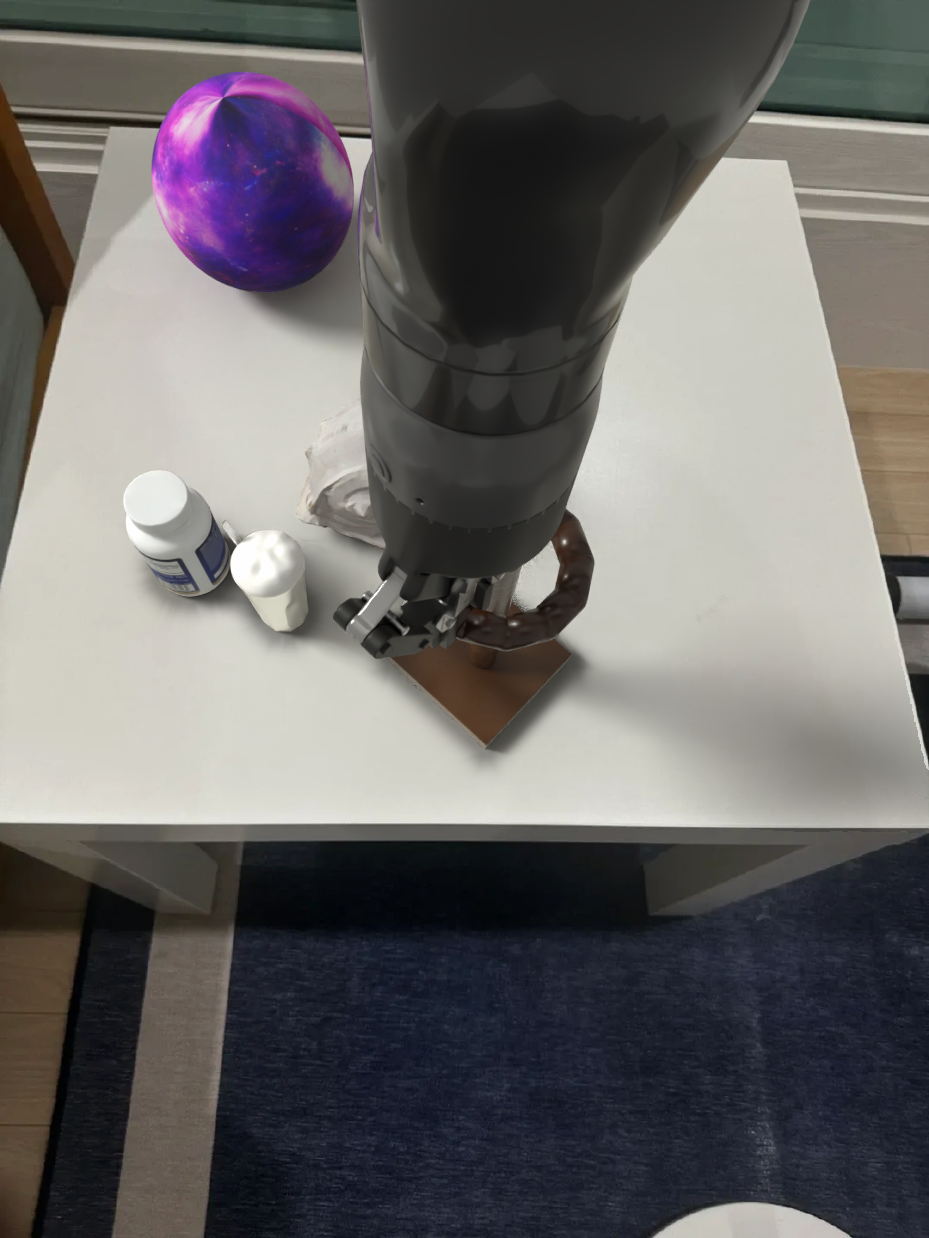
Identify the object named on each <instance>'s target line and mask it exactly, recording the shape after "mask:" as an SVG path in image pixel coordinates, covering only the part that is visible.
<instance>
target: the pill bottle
mask: <svg viewBox="0 0 929 1238" xmlns="http://www.w3.org/2000/svg"><path fill="white" fill-rule="evenodd" d="M122 499H123V500H122V502H123V503H122V504H123V508H124V511H125V513H126V518H125V528H126V533H127V535H128V537H129V539H130V541H131V543H132V545H133V546H134V548H135V549H136V550H137V551H138V553H139V554H140V556H141V557H142V558H143V559H144V561H145V563H146V564H147V566H148V567H149V569H150V570H151V571H152V573H153V575H154V576H155V577H156V579H157V581H158V582H159V583H160V584H161V586H163V588H165V589H166V590H168V591H169V592H171V593H173V594H175V595H177V596H182V597H197V596H202V595H204V594H208V593H210V592H212V591H213V590H214V589H216V588H218V586H219V585H220V584H221V583H222V582H223V581H224V579H226V577H227V575H228V573H229V570H230V568H231V566H230V563H231V552H230V550H229V546H228V544H227V542H226V540H225V537H224V536H223V533H222V532H221V529H220V526H219V525H218V523H217V521H216V519H215V516H214V514H213V511H212V510H211V508H210V506H209V504H208V503H207V500H206V499H205V497H203V495H202V494H201V493H200V492H199V491H198V490H196V489H194V488H193V487H191V486H189V485H187V484H186V482H185V481H184V480H183V479H182V478H181V476H179V475H178V474H175V473H174V472H171V471H168V470H160V469H156V470H149V471H146V472H144V473H142V474H140V475H138V476H136V477H135V478H133V480H132V481H130V483H129V484H128V485H127V487H126V489H125V490H124V494H123V498H122Z"/></svg>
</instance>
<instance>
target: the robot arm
mask: <svg viewBox="0 0 929 1238" xmlns="http://www.w3.org/2000/svg"><path fill="white" fill-rule="evenodd" d="M810 2H811V0H355V3H356V11H357V12H356V13H357V20H358V28H359V35H360V44H361V53H362V60H363V70H364V77H365V85H366V86H365V87H366V96H367V106H368V115H369V127H370V140H371V141H370V142H371V153H370V156H369V157H368V161H367V164H366V166H365V168H364V172H363V177H362V183H361V189H360V194H359V202H358V210H357V263H358V270H359V271H358V272H359V286H360V296H361V297H360V298H361V299H360V300H361V312H362V328H363V348H362V354H361V363H360V375H359V389H360V390H359V392H360V394H359V395H360V399H361V407H362V418H363V430H364V442H365V452H366V463H367V474H368V484H369V495H370V502H371V507H372V511H373V514H374V517H375V520H376V523H377V525H378V528H379V530H380V532H381V535H382V537H383V539H384V542H385V544H386V545H385V549H383V551H382V554H381V556H380V558H379V560H378V565H377V573H378V577H379V579H380V580H381V581H382V582H381V583H380V584H379V585H378V587H377V588H376V589H375V591H374V592H372V591H371V590H366V591H365V592H363V594H362V595H361V597H350V598H348V599H345V600H344V601H343V602H341V603H339V605H338V606H337V608H336V609H335V611H334V613H333V615H332V621H333V622H335V624H337V625H338V626H339V627H340V628H341V629H342V630H343V631H344V632H345V633H346V634H347V635H348V636H350V637H351V638H352V639H353V640H354V641H355V642H356V643H357V644H359V646H360V647H362V649H364V651H366V652H367V653H368V654H369V655H370V656H371V657H372V658H373V659H375V660H379V659H381V660H382V659H387V658H388V659H389V658H390V657H397V656H404V655H412V654H417V653H419V652H420V651H422V650H425V649H426V648H427V647H428V646H430V647H431V648H433V649H435V648H436V647H437V646H438V645H440V646H442V647H443V648H445V649H447V648H448V647H449V646H450V645H451V644H452V643H453V642H454V641H455V640H456V635H457V630H458V623H459V613H460V612H461V611H463V610H464V609H465V608H466V607H467V606H468V605H469V604H471V605H472V606H473V607H474V608H477V609H481V610H486V609H487V608H488V607H489V605H490V600H491V595H492V591H493V588H494V583H495V582H497V581H498V580H501V579H502V578H503V576H504V575H505V573H507V572H509V571H512V570H514V569H516V568H518V567H520V566H522V567H523V566H524V565H526V564H528V563H529V562H530V561H532V560H533V559H534V558H536V557H537V556H538V555H539V554H540V553H541V552H542V551H543V550H544V549H545V548H546V547H547V546H548V544H549V543H550V542H551V539H552V538H553V536H554V535H555V533H556V531H557V529H558V527H559V525H560V523H561V520H562V518H563V515H564V512H565V509H567V506H568V502H569V500H570V497H571V493H572V490H573V488H574V485H575V482H576V479H577V476H578V473H579V472H580V471H579V470H580V468H581V465H582V462H583V458H584V457H585V454H586V450H587V448H588V444H589V441H590V438H591V436H592V433H593V430H594V427H595V423H596V420H597V417H598V413H599V407H600V402H601V396H602V390H603V389H602V388H603V380H604V372H605V368H606V363H607V361H608V358H609V355H610V352H611V348H612V347H613V342H614V340H615V337H616V334H617V331H618V328H619V324H620V322H621V319H622V315H623V314H624V313H623V312H624V309H625V306H626V303H627V300H628V297H629V295H630V290H631V286H632V284H633V283H632V282H633V278H634V276H635V274H636V273H637V271H638V270H639V269H640V268H641V267H642V265H643V264H644V263H645V262H646V260H648V258H649V257H650V256H651V255H652V254H653V253H654V252H655V250H656V249H657V248H658V247H659V245H660V244H661V242H662V241H663V240H664V239H665V237H666V236H667V235H668V234H669V232H670V231H671V230H672V228H673V226H674V225H675V224H676V222H677V221H678V219H679V218H680V217H681V215H682V214H683V212H684V211H685V209H686V208H687V207H688V205H689V204H690V202H691V201H692V200H693V199H694V197H695V196H696V194H697V193H698V192H699V190H700V189H701V187H702V186H703V185H704V184H705V182H706V181H707V179H708V178H709V176H710V175H711V174H712V172H713V171H714V170H715V168H716V167H717V166H718V164H719V163H720V162H721V160H722V159H723V157H724V156H725V155H726V153H727V152H728V151H729V149H730V148H731V146H732V145H733V144H734V142H735V141H736V139H738V137H739V136H740V134H741V132H742V131H743V129H744V128H745V127H746V125H747V124H748V123H749V121H750V120H751V118H752V117H753V116H754V114H755V112H756V111H757V109H758V108H759V106H760V104H761V103H762V102H763V100H764V98H765V97H766V95H767V93H768V92H769V91H770V88H771V87H772V86H773V84H774V82H775V81H776V78H777V77H778V75H779V73H780V71H781V69H782V67H783V66H784V63H785V61H786V59H787V57H788V55H789V53H790V51H791V50H792V47H793V46H794V43H795V40H796V38H797V36H798V34H799V31H800V28H801V26H802V24H803V21H804V19H805V16H806V14H807V11H808V9H809V5H810ZM404 601H405V603H404ZM403 603H404V604H403Z"/></svg>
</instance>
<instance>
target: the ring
mask: <svg viewBox="0 0 929 1238" xmlns="http://www.w3.org/2000/svg"><path fill="white" fill-rule="evenodd" d="M550 542H551V545H552V547H553V550H554V552H555V556H556V558H557V561H558V563H559V565H558V566H559V567H558V572H557V576H556V580H555V586H554V589H553V590H552V591H551V592H550V593H549V594H548V595H547V596H546V597H544V599H543V600H542V601H541V602H540V603H539V604H538V605H537V606H536V607H534V608H530V609H526V610H522V612H518V613H514V614H510V615H506V616H505V615H501V614H497V613H493V612H489V611H485V610H481V609H477V608H474V607H473V606H472V605H471V604H469V605H468V606H467V607H466V608H465V609H464V610H463V611H461V612H460V613H459V623H458V630H457V635H456V638H457V639H458V640H461V641H464V642H468V643H472V644H476V645H480V646H484V647H488V648H492V649H496V650H500V651H511V650H515V649H519V648H523V647H527V646H531V645H535V644H539V643H543V642H546V641H550V640H552V639H556V637H558V636H559V635H560V634H561V633H562V632H563V631H564V629H566V628H567V627H568V626H569V624H570V623H572V622H573V621H574V619H576V617H578V615H579V614H580V613H581V612H582V611H584V609H585V608H586V606H587V603H588V600H589V595H590V590H591V584H592V580H593V575H594V570H595V565H596V564H595V558H594V555H593V552H592V548H591V546H590V544H589V541H588V539H587V536H586V534H585V531H584V528H583V525H582V523H581V521H580V519H579V518H578V517H577V516H576V515H574V513H573V512H571V511H570V510H569V509H568V508H566V509H565V512H564V515H563V518H562V520H561V523H560V525H559V527H558V529H557V531H556V533H555V535H554V536H553V538H552V539H551V541H550Z"/></svg>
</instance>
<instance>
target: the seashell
mask: <svg viewBox="0 0 929 1238" xmlns="http://www.w3.org/2000/svg"><path fill="white" fill-rule="evenodd" d="M304 455H305V457H306V460H307V461H308V465H309V466H308V467H309V470H308V471H309V472H308V476H307V477H306V479H305V483H304V486H303V488H302V490H301V496H300V499H299V500H298V503H297V508H296V512H295V515H296V517H297V519H298V520H300V521H301V522H302V523H304V524H308V525H313V526H317V527H321V528H323V529H326V528H329V529H332V530H334V531H336V532H338V534H341V535H344V536H346V537H349V538H354V539H356V540H359V541H362V542H364V543H368V544H370V545H372V546H374V547H376V548H379V549H383V550H384V549H385V545H386V544H385V542H384V539H383V537H382V535H381V532H380V530H379V528H378V525H377V523H376V520H375V517H374V514H373V511H372V507H371V502H370V495H369V484H368V474H367V463H366V452H365V442H364V430H363V418H362V407H361V398H360V399H357V400H356V401H354V402H352V403H350V404H347V405H345V406H343V407H341V409H340V410H339V411H338V412H337V413H335V414H334V415H333V416H331V417H330V418H328V419H325V420H323V421H322V422H321V423H320V424H319V432H318V436H317V438H316V439H315V441H314V442H313V444H311V445H310V446H308V447H307V448H306V449H305V450H304Z"/></svg>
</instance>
